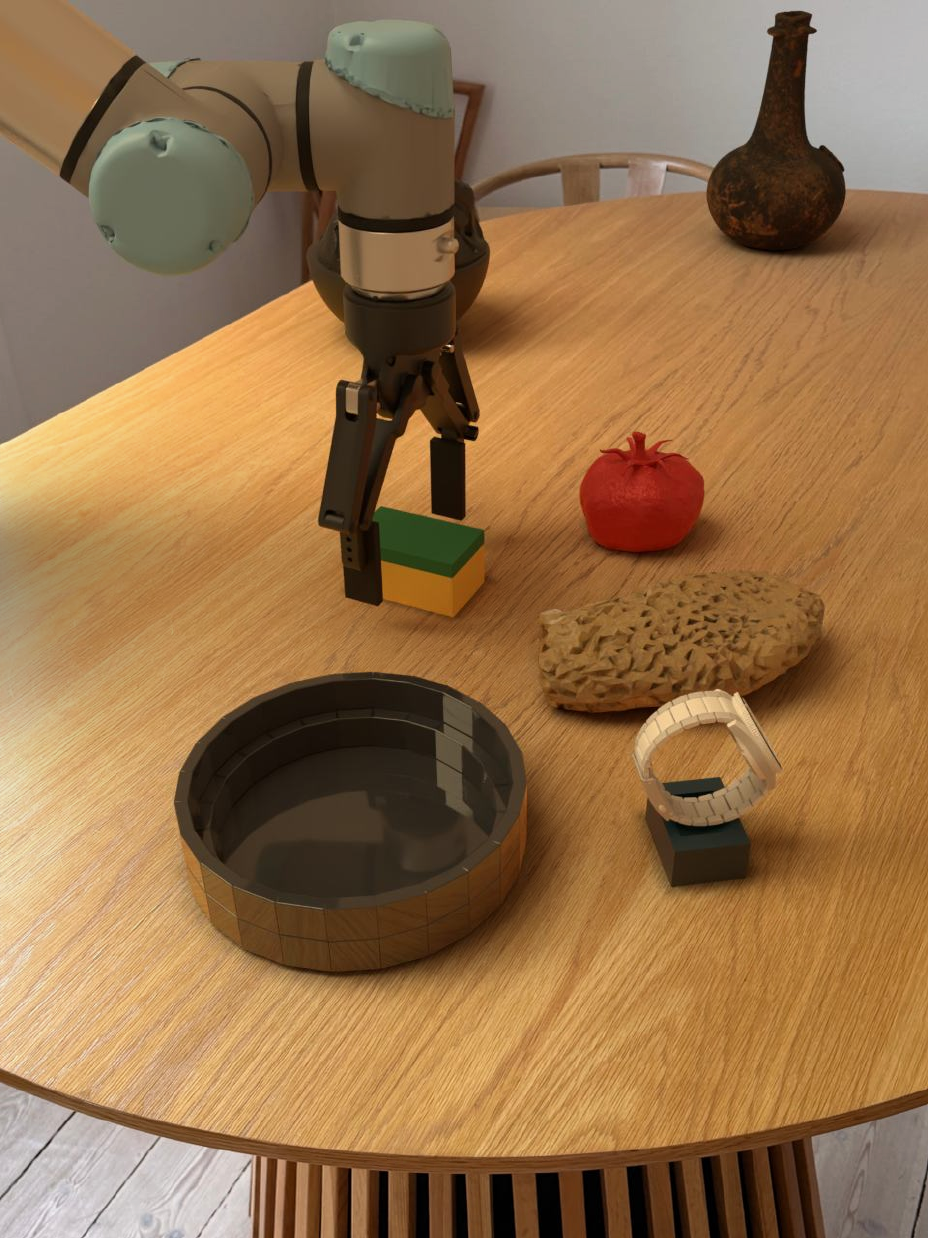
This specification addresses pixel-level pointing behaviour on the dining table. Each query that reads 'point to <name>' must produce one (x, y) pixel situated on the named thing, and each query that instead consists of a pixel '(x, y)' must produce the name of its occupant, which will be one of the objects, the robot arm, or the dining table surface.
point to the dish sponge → (429, 561)
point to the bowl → (353, 820)
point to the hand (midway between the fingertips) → (408, 555)
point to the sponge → (677, 641)
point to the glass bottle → (779, 159)
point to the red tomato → (641, 497)
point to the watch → (704, 791)
